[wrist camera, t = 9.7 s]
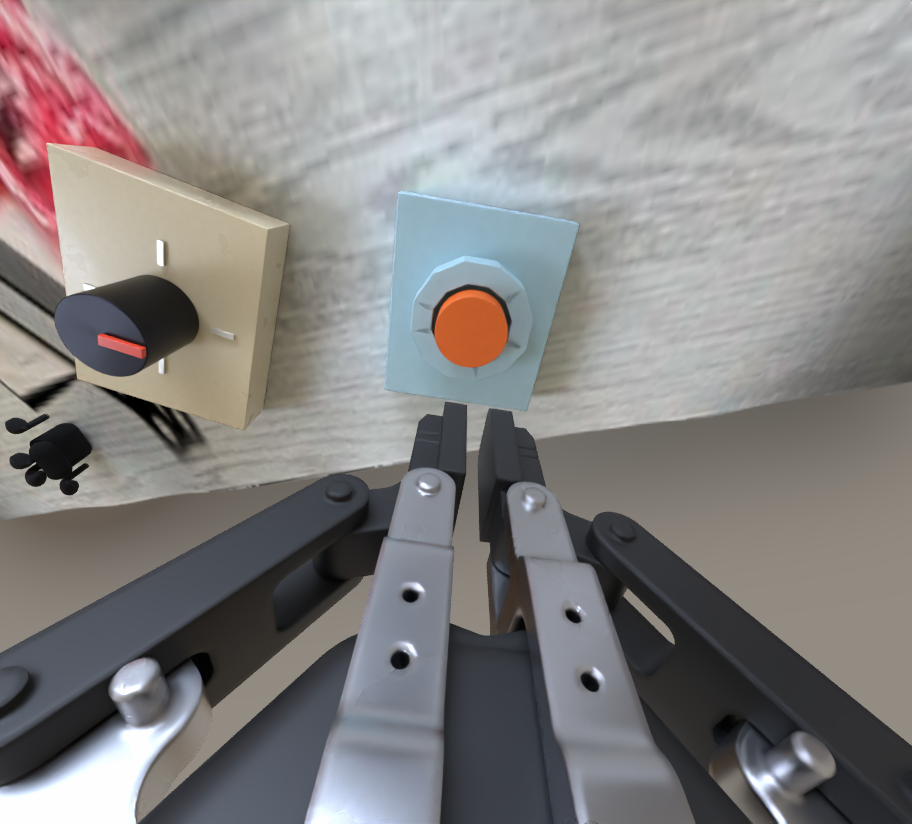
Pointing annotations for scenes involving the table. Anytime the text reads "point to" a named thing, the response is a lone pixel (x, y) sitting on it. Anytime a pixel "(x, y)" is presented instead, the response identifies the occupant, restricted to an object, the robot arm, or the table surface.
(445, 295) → the housing
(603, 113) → the table surface
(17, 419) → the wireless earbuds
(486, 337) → the button
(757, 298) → the table surface
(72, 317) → the dial
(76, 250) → the panel
